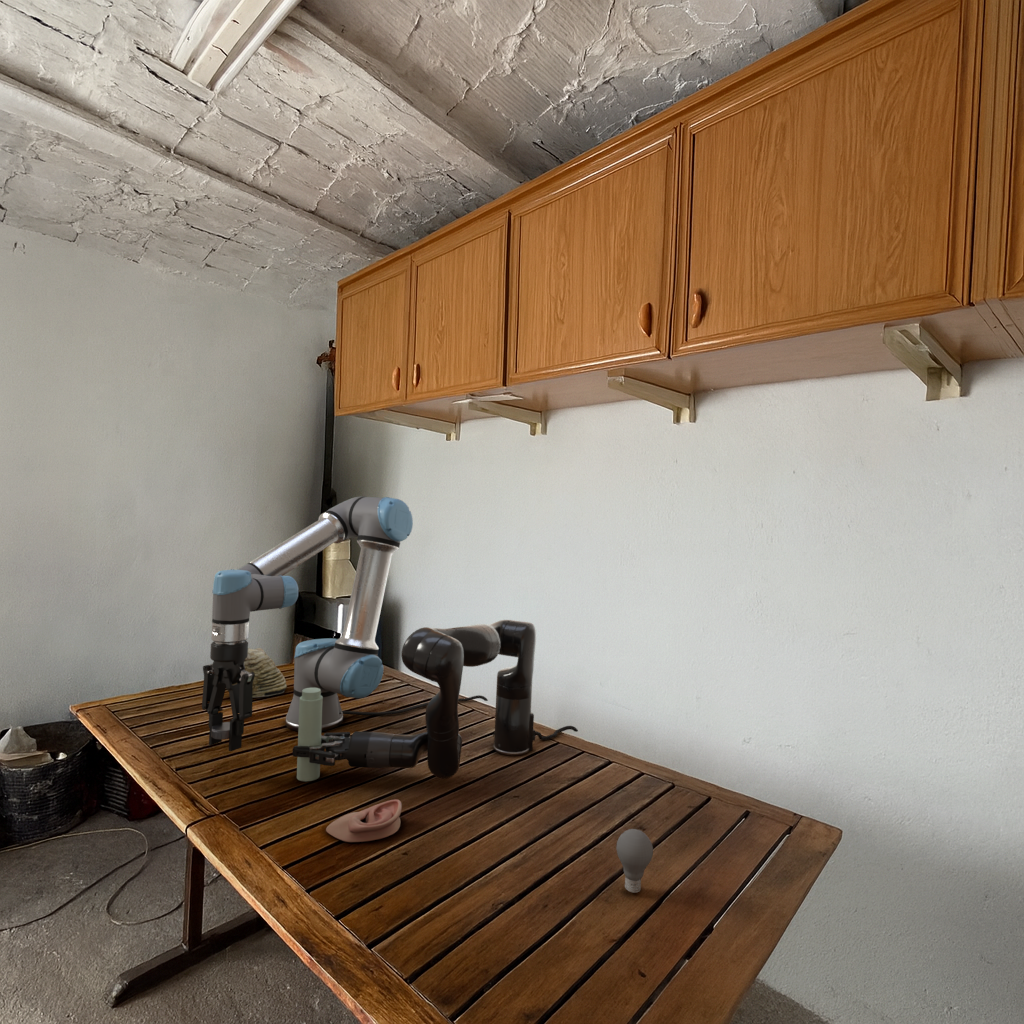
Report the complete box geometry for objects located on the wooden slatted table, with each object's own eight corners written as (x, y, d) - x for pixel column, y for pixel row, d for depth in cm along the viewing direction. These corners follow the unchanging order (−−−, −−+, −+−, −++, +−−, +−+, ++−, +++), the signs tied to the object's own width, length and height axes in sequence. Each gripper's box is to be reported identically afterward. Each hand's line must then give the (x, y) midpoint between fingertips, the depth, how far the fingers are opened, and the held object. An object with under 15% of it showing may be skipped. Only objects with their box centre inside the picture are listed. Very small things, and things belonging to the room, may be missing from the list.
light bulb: (610, 879, 108) (613, 822, 108) (644, 879, 109) (647, 822, 109) (619, 902, 102) (622, 840, 102) (655, 901, 103) (658, 840, 103)
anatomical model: (318, 816, 117) (346, 789, 129) (317, 837, 118) (346, 808, 129) (385, 827, 115) (408, 798, 126) (384, 848, 115) (407, 818, 126)
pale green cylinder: (323, 777, 143) (326, 691, 142) (301, 783, 140) (305, 694, 139) (314, 770, 146) (317, 685, 146) (293, 775, 143) (296, 689, 143)
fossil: (218, 695, 195) (220, 647, 195) (278, 685, 208) (279, 640, 207) (228, 703, 189) (230, 653, 188) (289, 692, 201) (290, 645, 201)
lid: (224, 728, 143) (224, 720, 143) (245, 732, 141) (245, 724, 141) (205, 737, 137) (205, 728, 137) (226, 741, 136) (226, 732, 136)
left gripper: (186, 638, 140) (181, 742, 140) (246, 650, 132) (240, 761, 132) (215, 632, 146) (210, 732, 147) (274, 643, 138) (269, 749, 139)
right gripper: (380, 722, 150) (308, 718, 150) (365, 745, 136) (286, 741, 136) (378, 753, 150) (307, 750, 150) (364, 780, 136) (285, 776, 136)
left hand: (225, 745), depth 139 cm, fingers closed on lid, 5 cm apart
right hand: (297, 746), depth 143 cm, fingers closed on pale green cylinder, 5 cm apart
